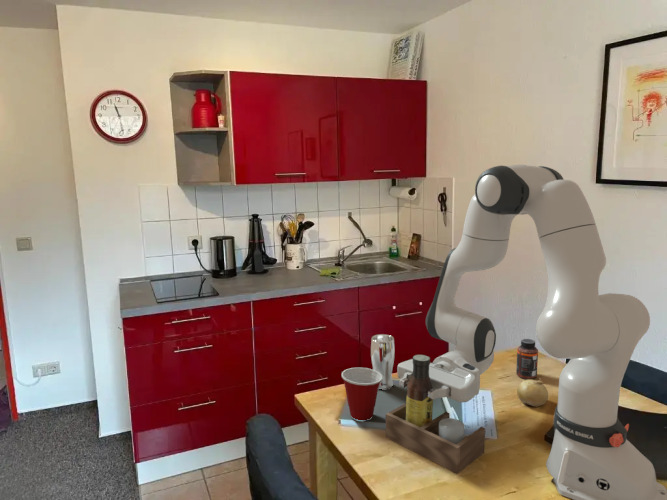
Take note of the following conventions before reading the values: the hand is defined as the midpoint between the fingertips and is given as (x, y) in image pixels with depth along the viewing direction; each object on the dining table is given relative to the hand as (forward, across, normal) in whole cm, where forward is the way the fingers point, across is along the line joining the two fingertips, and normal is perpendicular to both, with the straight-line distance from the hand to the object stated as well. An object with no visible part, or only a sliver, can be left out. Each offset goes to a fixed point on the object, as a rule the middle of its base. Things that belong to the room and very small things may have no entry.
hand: (415, 389), depth 117 cm
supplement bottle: (-53, +2, +14) cm, 55 cm away
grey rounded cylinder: (-1, +10, +12) cm, 16 cm away
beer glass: (-17, -25, +14) cm, 33 cm away
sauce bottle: (-1, 0, +12) cm, 13 cm away
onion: (-38, +11, +14) cm, 42 cm away
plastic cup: (0, -17, +14) cm, 22 cm away
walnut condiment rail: (-1, +5, +14) cm, 14 cm away
